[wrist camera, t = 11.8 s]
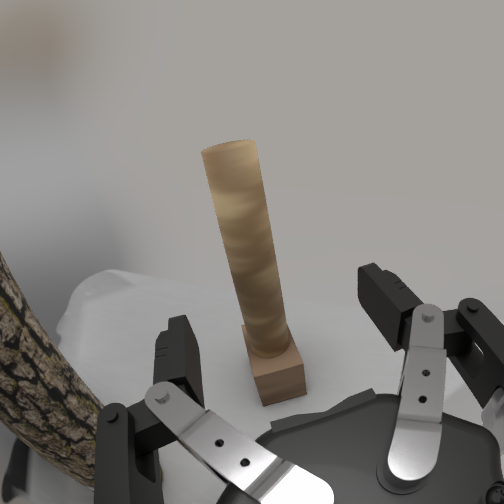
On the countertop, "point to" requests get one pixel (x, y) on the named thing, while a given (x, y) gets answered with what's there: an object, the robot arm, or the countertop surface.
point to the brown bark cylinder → (43, 389)
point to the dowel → (248, 242)
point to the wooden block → (277, 373)
